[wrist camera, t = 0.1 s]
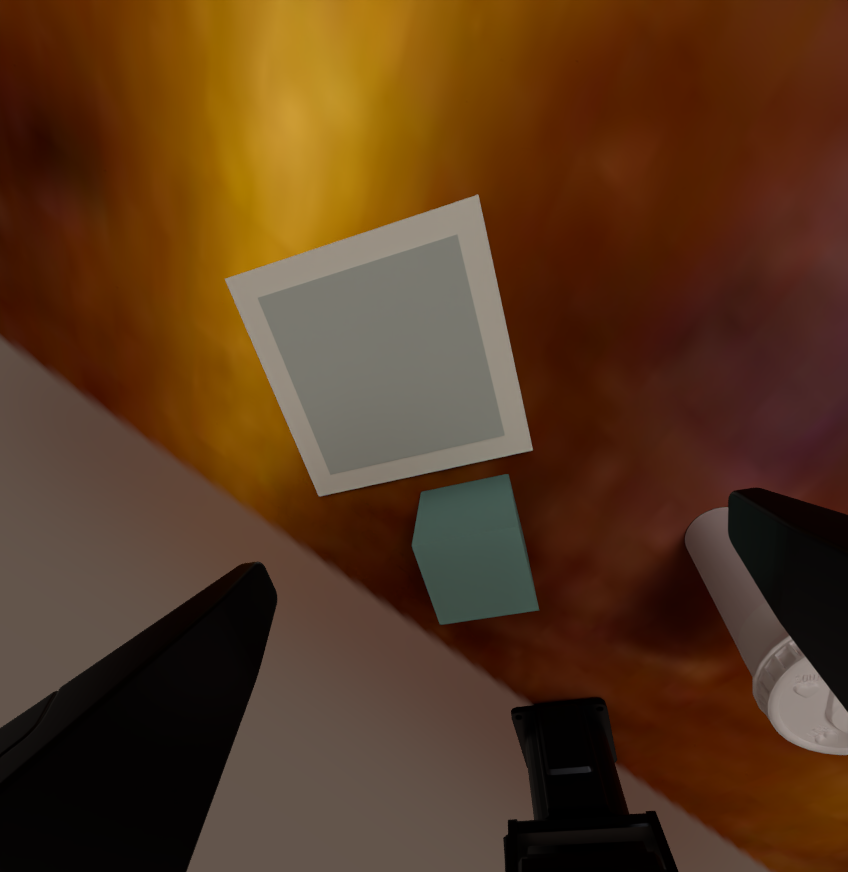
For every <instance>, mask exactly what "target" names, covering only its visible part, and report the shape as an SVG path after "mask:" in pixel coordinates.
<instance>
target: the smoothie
mask: <svg viewBox="0 0 848 872" xmlns="http://www.w3.org/2000/svg"><path fill="white" fill-rule="evenodd" d="M685 545H686V548H687V550H688V552H689V554H690V556H691V558H692V560H693V562H694V564H695V566H696V568H697V569H698V571H699V573H700V575H701V577H702V579H703V581H704V583H705V585H706V587H707V589H708V591H709V593H710V595H711V597H712V599H713V601H714V603H715V605H716V607H717V609H718V611H719V613H720V614H721V616H722V618H723V620H724V622H725V624H726V626H727V628H728V630H729V632H730V634H731V636H732V638H733V640H734V642H735V644H736V646H737V648H738V650H739V652H740V654H741V656H742V658H743V660H744V662H745V664H746V666H747V668H748V669H749V671H750V673H751V675H752V677H753V696H754V698H755V700H756V702H757V704H758V707H759V708H760V709H761V710H762V711H763V712H764V713H765V714H766V715H767V717H768V719H769V720H770V722H771V723H772V725H773V727H774V728H775V729H776V730H777V732H778V733H779V734H780V735H781V736H783V737H784V738H785V739H787V740H788V741H790V742H792V743H793V744H796V745H798V746H800V747H803V748H806V749H808V750H812V751H816V752H821V753H826V754H836V755H848V712H847V711H846V709H845V708H844V707H843V705H842V704H841V703H840V702H839V700H838V699H837V698H836V696H835V695H834V694H833V692H832V691H831V690H830V688H829V687H828V686H827V684H826V683H825V682H824V680H823V679H822V678H821V677H820V675H819V674H818V673H817V671H816V670H815V669H814V667H813V666H812V665H811V663H810V662H809V661H808V659H807V658H806V657H805V655H804V654H803V653H802V652H801V650H800V649H799V648H798V646H797V645H796V644H795V642H794V641H793V640H792V638H791V637H790V636H789V634H788V633H787V632H786V630H785V629H784V627H783V626H782V625H781V623H780V622H779V620H778V619H777V617H776V616H775V614H774V613H773V611H772V610H771V608H770V606H769V605H768V603H767V601H766V600H765V598H764V596H763V595H762V593H761V591H760V590H759V588H758V587H757V585H756V583H755V582H754V580H753V578H752V577H751V575H750V573H749V572H748V570H747V568H746V567H745V565H744V563H743V562H742V560H741V558H740V557H739V555H738V554H737V552H736V550H735V549H734V547H733V545H732V543H731V541H730V539H729V535H728V507H723V508H717V509H713V510H710V511H708V512H705V513H704V514H702V515H700V516H699V517H697V518H696V519H695V520H694V521H693V522H692V523H691V525H690V526H689V527H688V529H687V532H686V535H685Z"/></svg>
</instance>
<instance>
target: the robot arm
mask: <svg viewBox="0 0 848 872" xmlns="http://www.w3.org/2000/svg"><path fill="white" fill-rule="evenodd" d="M728 535H729V539H730V541H731V543H732V545H733V547H734V549H735V550H736V552H737V554H738V555H739V557H740V558H741V560H742V562H743V563H744V565H745V567H746V568H747V570H748V572H749V573H750V575H751V577H752V578H753V580H754V582H755V583H756V585H757V587H758V588H759V590H760V591H761V593H762V595H763V596H764V598H765V600H766V601H767V603H768V605H769V606H770V608H771V610H772V611H773V613H774V614H775V616H776V617H777V619H778V620H779V622H780V623H781V625H782V626H783V627H784V629H785V630H786V632H787V633H788V634H789V636H790V637H791V638H792V640H793V641H794V642H795V644H796V645H797V646H798V648H799V649H800V650H801V652H802V653H803V654H804V655H805V657H806V658H807V659H808V661H809V662H810V663H811V665H812V666H813V667H814V669H815V670H816V671H817V673H818V674H819V675H820V677H821V678H822V679H823V680H824V682H825V683H826V684H827V686H828V687H829V688H830V690H831V691H832V692H833V694H834V695H835V696H836V698H837V699H838V700H839V702H840V703H841V704H842V705H843V707H844V708H845V709H846V711H847V712H848V515H846V514H843V513H840V512H837V511H833V510H830V509H827V508H824V507H820V506H817V505H814V504H811V503H807V502H804V501H801V500H797V499H794V498H791V497H788V496H784V495H781V494H778V493H775V492H771V491H768V490H765V489H762V488H749V489H742V490H736V491H733V492H732V493H731V494H730V496H729V500H728ZM276 605H277V593H276V590H275V588H274V586H273V583H272V581H271V579H270V577H269V575H268V572H267V570H266V568H265V566H264V565H263V564H262V563H261V562H252V563H244V564H241V565H239V566H237V567H236V568H234V569H233V570H232V571H230V572H229V573H227V574H226V575H224V576H223V577H221V578H220V579H218V580H217V581H215V582H214V583H213V584H211V585H210V586H208V587H207V588H205V589H204V590H202V591H201V592H199V593H198V594H196V595H195V596H194V597H192V598H191V599H189V600H188V601H186V602H185V603H183V604H182V605H180V606H179V607H177V608H176V609H174V610H173V611H172V612H170V613H169V614H167V615H166V616H164V617H163V618H161V619H160V620H158V621H157V622H156V623H154V624H153V625H151V626H150V627H148V628H147V629H145V630H144V631H142V632H141V633H139V634H138V635H137V636H135V637H134V638H132V639H131V640H129V641H128V642H126V643H125V644H123V645H122V646H120V647H119V648H117V649H116V650H114V651H113V652H112V653H110V654H109V655H107V656H106V657H104V658H103V659H101V660H100V661H98V662H97V663H95V664H94V665H93V666H91V667H90V668H88V669H87V670H85V671H84V672H82V673H81V674H79V675H78V676H76V677H75V678H73V679H72V680H71V681H69V682H68V683H66V684H65V685H63V686H62V687H61V688H60V689H59V691H55V692H53V693H51V694H50V695H48V696H47V697H46V698H44V699H43V700H41V701H40V702H38V703H37V704H35V705H34V706H33V707H31V708H30V709H28V710H26V711H25V712H24V713H22V714H21V715H19V716H17V717H16V718H14V719H13V720H12V721H10V722H9V723H7V724H6V725H4V726H3V727H1V728H0V872H186V871H187V869H188V866H189V863H190V860H191V858H192V855H193V852H194V849H195V847H196V844H197V841H198V838H199V836H200V833H201V830H202V827H203V824H204V822H205V819H206V816H207V813H208V811H209V808H210V806H211V803H212V800H213V797H214V795H215V792H216V789H217V786H218V784H219V781H220V778H221V775H222V773H223V770H224V767H225V764H226V761H227V759H228V756H229V753H230V751H231V748H232V745H233V742H234V740H235V737H236V734H237V731H238V729H239V726H240V723H241V721H242V718H243V715H244V712H245V710H246V707H247V704H248V701H249V699H250V696H251V693H252V690H253V688H254V685H255V682H256V679H257V676H258V673H259V669H260V666H261V662H262V658H263V655H264V651H265V647H266V643H267V639H268V636H269V631H270V628H271V624H272V620H273V616H274V612H275V609H276ZM511 715H512V720H513V724H514V727H515V730H516V733H517V736H518V740H519V743H520V746H521V749H522V753H523V756H524V759H525V762H526V766H527V768H528V773H529V781H530V788H531V797H532V805H533V814H534V820H530V821H517V819H514V820H508V835H506V836H505V837H504V838H503V839H504V853H505V872H678V869H677V867H676V864H675V861H674V859H673V856H672V854H671V851H670V848H669V846H668V844H667V840H666V838H665V835H664V833H663V830H662V827H661V825H660V822H659V819H658V817H657V814H656V812H655V811H646V813H645V814H644V813H643V814H629V811H628V808H627V804H626V801H625V797H624V794H623V791H622V788H621V784H620V780H619V777H618V774H617V770H616V767H615V762H616V761H617V757H616V752H615V747H614V741H613V736H612V731H611V725H610V720H609V715H608V710H607V706H606V703H605V701H604V700H603V699H598V698H597V699H588V700H578V701H569V702H560V703H551V704H542V705H532V706H523V707H516V708H513V709H512V710H511Z"/></svg>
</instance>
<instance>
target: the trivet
mask: <svg viewBox="0 0 848 872" xmlns="http://www.w3.org/2000/svg"><path fill="white" fill-rule="evenodd" d="M225 281H226V283H227V285H228V287H229V290H230V292H231V294H232V297H233V299H234V301H235V304H236V306H237V308H238V311H239V313H240V315H241V318H242V320H243V322H244V324H245V327H246V329H247V331H248V334H249V336H250V338H251V341H252V343H253V345H254V348H255V350H256V352H257V355H258V357H259V359H260V362H261V364H262V366H263V368H264V371H265V373H266V375H267V378H268V380H269V382H270V385H271V387H272V389H273V392H274V394H275V396H276V399H277V401H278V403H279V405H280V408H281V410H282V412H283V415H284V417H285V419H286V422H287V424H288V426H289V429H290V431H291V433H292V436H293V438H294V440H295V442H296V445H297V447H298V449H299V452H300V454H301V456H302V459H303V461H304V463H305V466H306V468H307V470H308V473H309V475H310V477H311V480H312V482H313V484H314V486H315V489H316V491H317V493H318V496H319V497H320V496H324V495H329V494H333V493H338V492H343V491H347V490H352V489H357V488H361V487H366V486H370V485H375V484H380V483H384V482H389V481H393V480H398V479H403V478H407V477H412V476H417V475H421V474H426V473H430V472H435V471H440V470H444V469H449V468H453V467H458V466H463V465H467V464H472V463H477V462H481V461H486V460H490V459H495V458H500V457H504V456H509V455H513V454H518V453H523V452H527V451H532V450H533V449H532V444H531V439H530V434H529V430H528V425H527V420H526V416H525V411H524V406H523V402H522V397H521V392H520V388H519V383H518V378H517V374H516V369H515V364H514V360H513V355H512V350H511V346H510V341H509V336H508V332H507V327H506V322H505V317H504V313H503V308H502V303H501V299H500V294H499V289H498V285H497V280H496V275H495V271H494V266H493V261H492V257H491V252H490V247H489V243H488V238H487V233H486V229H485V224H484V219H483V215H482V210H481V205H480V200H479V196H478V195H476V196H473V197H470V198H467V199H464V200H461V201H458V202H455V203H452V204H449V205H446V206H443V207H440V208H437V209H434V210H431V211H428V212H425V213H422V214H419V215H416V216H413V217H410V218H407V219H404V220H401V221H398V222H395V223H392V224H389V225H386V226H383V227H380V228H377V229H374V230H371V231H368V232H365V233H362V234H359V235H356V236H353V237H350V238H347V239H344V240H341V241H338V242H335V243H332V244H329V245H325V246H322V247H319V248H316V249H313V250H310V251H307V252H304V253H301V254H298V255H295V256H292V257H289V258H286V259H283V260H280V261H277V262H274V263H271V264H268V265H265V266H262V267H259V268H256V269H253V270H250V271H247V272H244V273H241V274H238V275H235V276H232V277H229V278H226V279H225Z"/></svg>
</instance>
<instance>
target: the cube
mask: <svg viewBox="0 0 848 872" xmlns="http://www.w3.org/2000/svg"><path fill="white" fill-rule="evenodd" d="M412 549H413V551H414V554H415V557H416V560H417V563H418V565H419V568H420V571H421V574H422V576H423V579H424V582H425V585H426V588H427V590H428V593H429V596H430V599H431V601H432V604H433V607H434V610H435V613H436V615H437V618H438V621H439V624H440V625H443V624H450V623H456V622H463V621H470V620H477V619H483V618H490V617H497V616H504V615H510V614H517V613H524V612H530V611H537V610H539V607H538V603H537V598H536V593H535V588H534V583H533V578H532V573H531V569H530V564H529V559H528V554H527V549H526V545H525V541H524V536H523V532H522V528H521V524H520V520H519V516H518V512H517V507H516V503H515V499H514V495H513V491H512V487H511V483H510V479H509V474H505V475H500V476H495V477H490V478H486V479H481V480H476V481H471V482H466V483H462V484H457V485H452V486H447V487H442V488H438V489H433V490H428V491H423V492H421V496H420V501H419V507H418V513H417V518H416V524H415V530H414V535H413V541H412Z"/></svg>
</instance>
